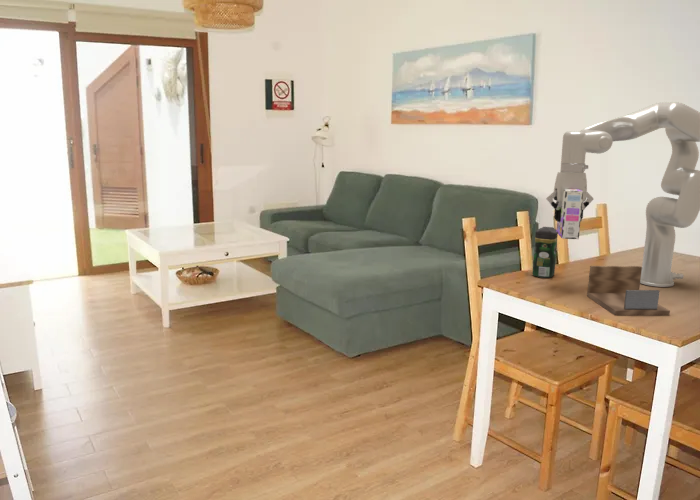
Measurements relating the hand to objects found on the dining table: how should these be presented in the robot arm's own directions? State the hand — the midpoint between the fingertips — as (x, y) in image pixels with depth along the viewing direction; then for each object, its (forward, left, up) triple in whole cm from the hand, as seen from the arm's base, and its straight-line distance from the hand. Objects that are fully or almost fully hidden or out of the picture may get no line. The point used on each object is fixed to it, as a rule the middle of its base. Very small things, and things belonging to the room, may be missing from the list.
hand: (568, 220), depth 203 cm
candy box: (0, 0, -5) cm, 5 cm away
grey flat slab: (-14, +28, -23) cm, 38 cm away
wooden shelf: (-14, +19, -24) cm, 34 cm away
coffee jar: (0, -18, -25) cm, 30 cm away
